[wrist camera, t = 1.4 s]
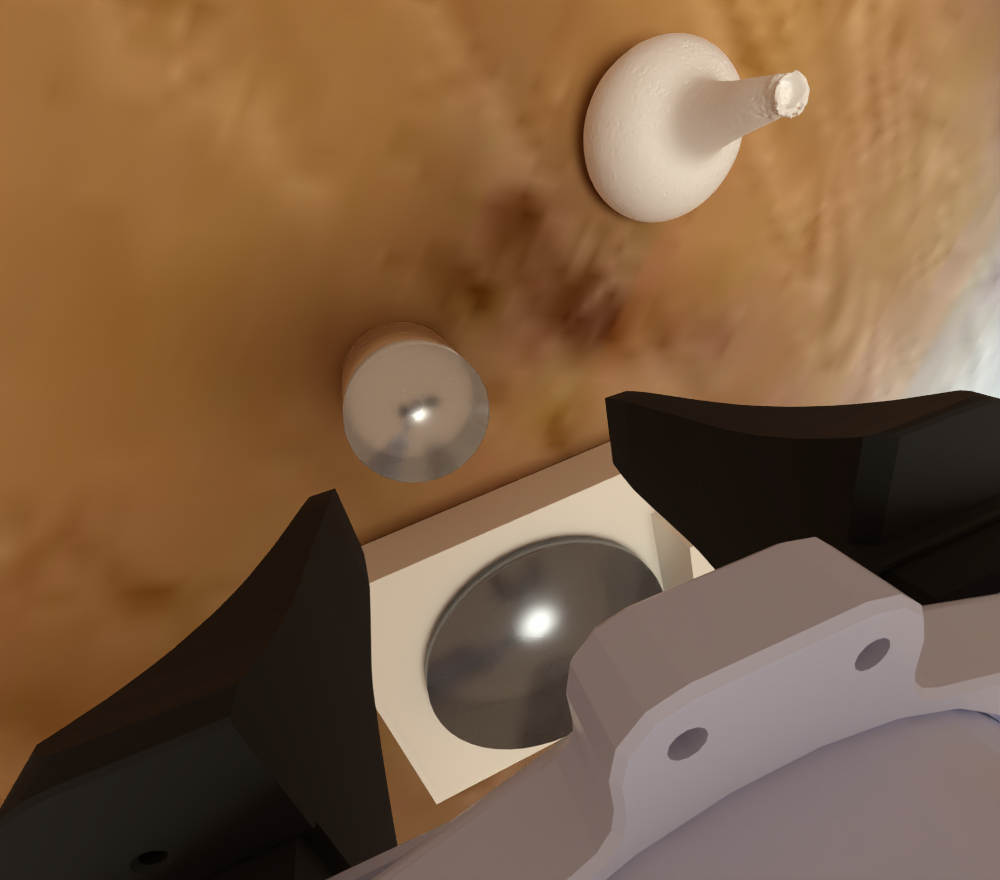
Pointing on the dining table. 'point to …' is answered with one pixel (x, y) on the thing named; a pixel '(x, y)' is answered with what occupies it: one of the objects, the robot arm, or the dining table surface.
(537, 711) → the pan
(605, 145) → the garlic bulb
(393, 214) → the dining table surface
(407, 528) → the base
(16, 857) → the robot arm
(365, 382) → the cylinder
